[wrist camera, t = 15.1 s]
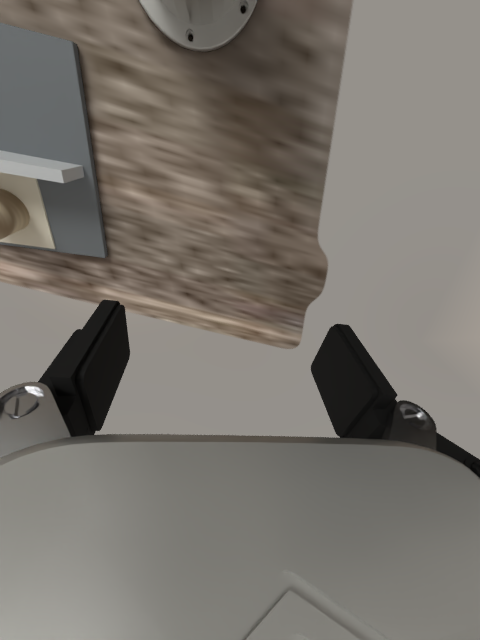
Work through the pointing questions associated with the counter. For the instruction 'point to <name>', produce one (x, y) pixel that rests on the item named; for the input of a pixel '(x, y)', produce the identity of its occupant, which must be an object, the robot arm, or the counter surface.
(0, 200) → the birch cylinder
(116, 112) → the counter surface
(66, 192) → the fence board
